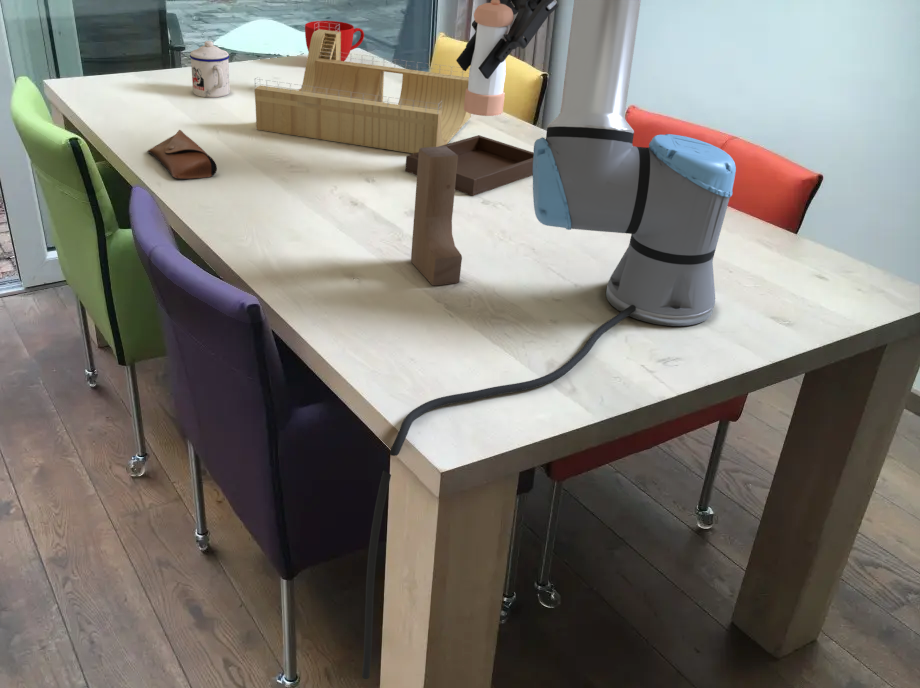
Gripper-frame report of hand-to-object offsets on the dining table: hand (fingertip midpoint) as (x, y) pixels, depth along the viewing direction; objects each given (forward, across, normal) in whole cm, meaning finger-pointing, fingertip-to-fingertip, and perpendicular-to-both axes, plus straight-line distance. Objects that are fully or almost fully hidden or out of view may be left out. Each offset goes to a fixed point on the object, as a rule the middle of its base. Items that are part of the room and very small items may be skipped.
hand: (472, 69), depth 161 cm
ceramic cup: (-5, +88, -35) cm, 94 cm away
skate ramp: (+10, +39, -19) cm, 45 cm away
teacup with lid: (+25, +74, -4) cm, 78 cm away
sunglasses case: (+45, +32, +16) cm, 57 cm away
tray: (+10, +2, -18) cm, 21 cm away
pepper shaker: (+3, 0, -8) cm, 9 cm away
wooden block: (+36, -30, +7) cm, 47 cm away
